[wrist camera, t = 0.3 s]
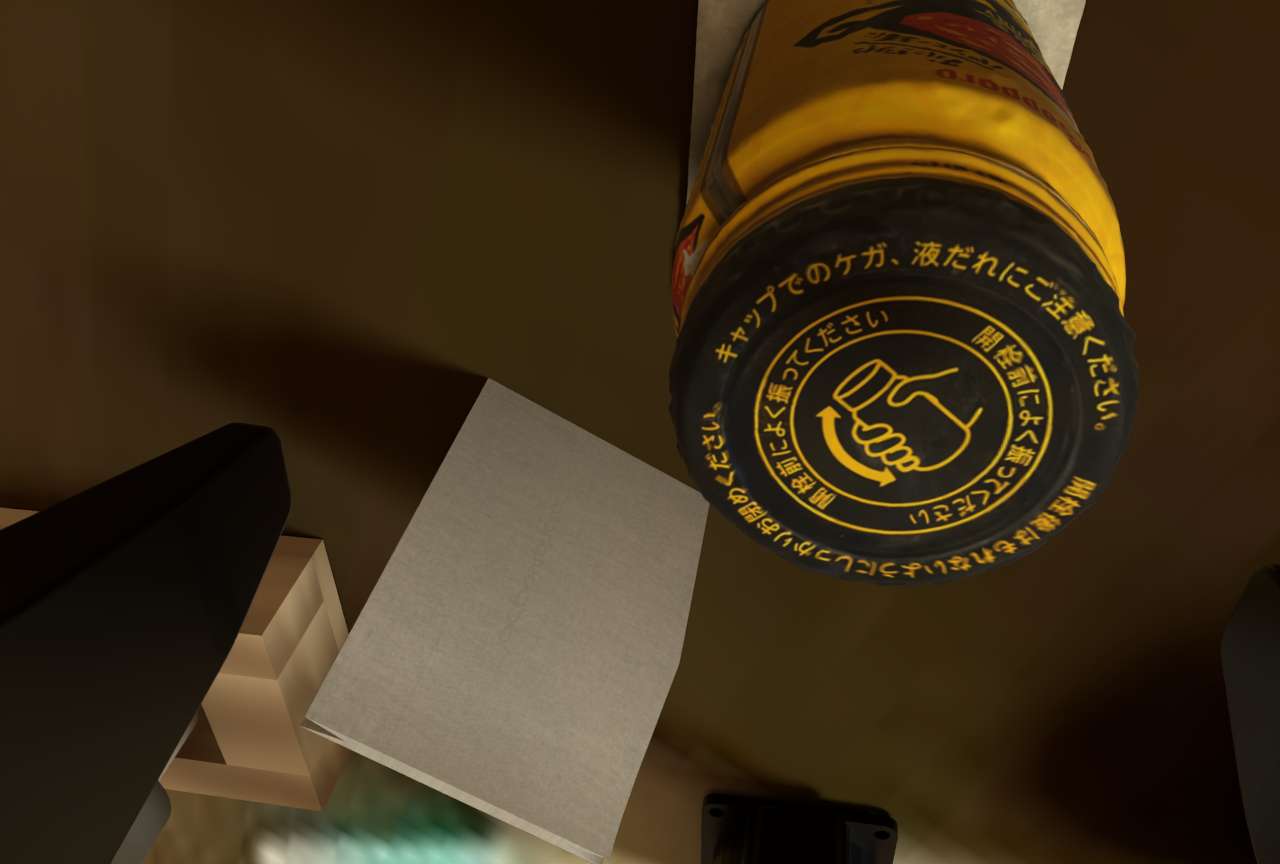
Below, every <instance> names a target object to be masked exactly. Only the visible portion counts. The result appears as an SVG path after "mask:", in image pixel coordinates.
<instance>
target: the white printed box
mask: <svg viewBox="0 0 1280 864" xmlns="http://www.w3.org/2000/svg"><path fill="white" fill-rule="evenodd" d="M708 509H709V502H707V501H706V500H705V499H704V498H703V496H702V494H701V493H700V492H698V491H696V490H694V489H692V488H691V487H689V486H687V485H685V484H683V483H681V482H679V481H678V480H676V479H674V478H672V477H670V476H668V475H667V474H665V473H663V472H661V471H659V470H657V469H656V468H654V467H652V466H650V465H648V464H646V463H644V462H643V461H641V460H639V459H637V458H635V457H633V456H632V455H630V454H628V453H626V452H624V451H622V450H620V449H619V448H617V447H615V446H613V445H611V444H609V443H608V442H606V441H604V440H602V439H600V438H598V437H596V436H595V435H593V434H591V433H589V432H587V431H585V430H584V429H582V428H580V427H578V426H576V425H574V424H573V423H571V422H569V421H567V420H565V419H563V418H561V417H560V416H558V415H556V414H554V413H552V412H550V411H549V410H547V409H545V408H543V407H541V406H539V405H537V404H536V403H534V402H532V401H530V400H528V399H526V398H525V397H523V396H521V395H519V394H517V393H515V392H513V391H512V390H510V389H508V388H506V387H504V386H502V385H501V384H499V383H497V382H495V381H493V380H491V379H489V378H488V380H487V382H486V384H485V385H484V387H483V389H482V391H481V393H480V395H479V396H478V398H477V400H476V402H475V404H474V405H473V407H472V409H471V411H470V413H469V415H468V416H467V418H466V420H465V422H464V424H463V426H462V427H461V429H460V431H459V433H458V435H457V436H456V438H455V440H454V442H453V444H452V446H451V447H450V449H449V451H448V453H447V455H446V457H445V458H444V460H443V462H442V464H441V466H440V467H439V469H438V471H437V473H436V475H435V477H434V478H433V480H432V482H431V484H430V486H429V488H428V490H427V491H426V493H425V495H424V497H423V499H422V501H421V502H420V504H419V506H418V508H417V510H416V512H415V514H414V515H413V517H412V519H411V521H410V523H409V525H408V526H407V528H406V530H405V532H404V534H403V536H402V537H401V539H400V541H399V543H398V545H397V547H396V549H395V550H394V552H393V554H392V556H391V558H390V560H389V561H388V563H387V565H386V567H385V569H384V571H383V572H382V574H381V576H380V578H379V580H378V582H377V584H376V585H375V587H374V589H373V591H372V593H371V595H370V596H369V598H368V600H367V602H366V604H365V606H364V608H363V609H362V611H361V613H360V615H359V617H358V619H357V620H356V622H355V624H354V626H353V628H352V630H351V632H350V633H349V635H348V637H347V639H346V641H345V643H344V645H343V646H342V648H341V650H340V652H339V654H338V656H337V658H336V659H335V661H334V663H333V665H332V667H331V669H330V671H329V672H328V674H327V676H326V678H325V680H324V682H323V684H322V685H321V687H320V689H319V691H318V693H317V695H316V696H315V698H314V700H313V702H312V704H311V706H310V708H309V709H308V711H307V713H306V715H305V717H304V719H303V721H302V722H301V724H300V726H301V727H303V728H306V729H308V730H310V731H312V732H314V733H316V734H318V735H321V736H323V737H325V738H327V739H329V740H331V741H333V742H335V743H338V744H340V745H342V746H344V747H346V748H348V749H350V750H353V751H355V752H357V753H359V754H361V755H363V756H365V757H368V758H370V759H372V760H374V761H376V762H378V763H380V764H382V765H385V766H387V767H389V768H391V769H393V770H395V771H397V772H400V773H402V774H404V775H406V776H408V777H410V778H412V779H414V780H417V781H419V782H421V783H423V784H425V785H427V786H429V787H432V788H434V789H436V790H438V791H440V792H442V793H444V794H447V795H449V796H451V797H453V798H455V799H457V800H459V801H461V802H464V803H466V804H468V805H470V806H472V807H474V808H476V809H479V810H481V811H483V812H485V813H487V814H489V815H491V816H494V817H496V818H498V819H500V820H502V821H504V822H506V823H508V824H511V825H513V826H515V827H517V828H519V829H521V830H523V831H526V832H528V833H530V834H532V835H534V836H536V837H538V838H540V839H543V840H545V841H547V842H549V843H551V844H553V845H555V846H558V847H560V848H562V849H564V850H566V851H568V852H570V853H573V854H575V855H577V856H579V857H581V858H583V859H585V860H587V861H590V862H592V863H594V864H602V859H603V858H605V859H608V860H609V859H610V855H611V852H612V849H613V845H614V842H615V839H616V835H617V832H618V829H619V825H620V822H621V819H622V816H623V814H624V811H625V808H626V805H627V802H628V799H629V797H630V794H631V791H632V788H633V785H634V782H635V779H636V777H637V774H638V771H639V768H640V766H641V763H642V760H643V758H644V755H645V753H646V750H647V747H648V745H649V742H650V739H651V737H652V734H653V731H654V729H655V726H656V723H657V721H658V718H659V716H660V713H661V710H662V708H663V705H664V702H665V700H666V697H667V694H668V692H669V689H670V686H671V684H672V681H673V678H674V676H675V673H676V671H677V668H678V665H679V662H680V657H681V652H682V646H683V641H684V636H685V630H686V625H687V620H688V615H689V609H690V604H691V599H692V593H693V588H694V583H695V578H696V572H697V567H698V562H699V556H700V551H701V546H702V541H703V535H704V530H705V525H706V519H707V514H708Z"/></svg>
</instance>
